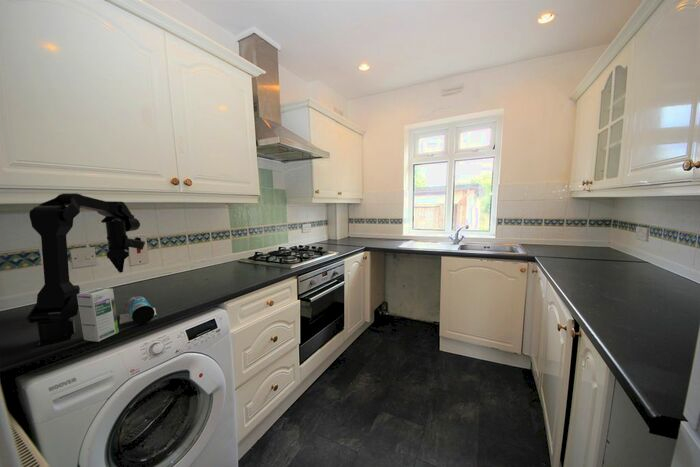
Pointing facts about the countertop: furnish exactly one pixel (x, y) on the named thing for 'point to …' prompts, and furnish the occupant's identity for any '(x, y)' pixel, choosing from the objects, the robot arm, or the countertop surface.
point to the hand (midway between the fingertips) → (121, 271)
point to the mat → (129, 317)
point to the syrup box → (97, 314)
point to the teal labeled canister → (139, 309)
